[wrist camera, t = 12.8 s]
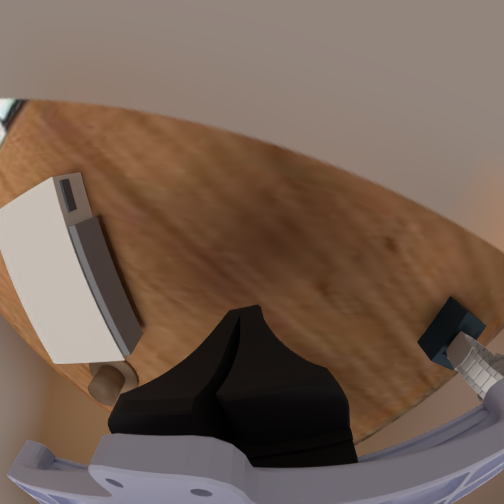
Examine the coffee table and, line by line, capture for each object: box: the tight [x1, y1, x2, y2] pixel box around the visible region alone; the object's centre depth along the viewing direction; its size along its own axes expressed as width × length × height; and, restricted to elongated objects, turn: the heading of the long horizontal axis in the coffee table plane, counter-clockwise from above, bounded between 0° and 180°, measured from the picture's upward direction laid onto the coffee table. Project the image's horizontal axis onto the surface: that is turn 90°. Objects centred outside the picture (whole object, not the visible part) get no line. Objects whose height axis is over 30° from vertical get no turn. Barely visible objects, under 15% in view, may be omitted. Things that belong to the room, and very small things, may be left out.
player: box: [0, 172, 128, 364], centre depth 20 cm, size 9×15×4 cm, turn 14°
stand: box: [88, 360, 138, 405], centre depth 24 cm, size 6×6×4 cm
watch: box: [417, 297, 504, 403], centre depth 18 cm, size 6×8×11 cm
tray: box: [69, 216, 143, 355], centre depth 20 cm, size 9×10×3 cm
